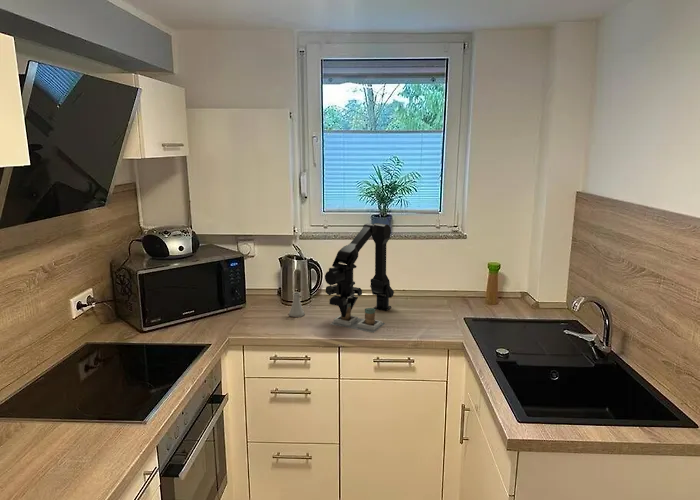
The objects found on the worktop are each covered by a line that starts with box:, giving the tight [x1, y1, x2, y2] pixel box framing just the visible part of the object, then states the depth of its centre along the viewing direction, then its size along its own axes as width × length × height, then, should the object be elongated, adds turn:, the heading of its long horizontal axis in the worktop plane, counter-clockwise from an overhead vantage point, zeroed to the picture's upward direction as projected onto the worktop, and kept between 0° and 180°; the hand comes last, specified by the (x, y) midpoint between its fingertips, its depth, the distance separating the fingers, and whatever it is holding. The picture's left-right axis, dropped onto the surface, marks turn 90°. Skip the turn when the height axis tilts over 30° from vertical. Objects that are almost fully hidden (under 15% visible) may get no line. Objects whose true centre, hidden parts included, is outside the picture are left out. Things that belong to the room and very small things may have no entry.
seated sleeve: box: [364, 307, 376, 326], centre depth 208 cm, size 4×4×7 cm
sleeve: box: [340, 302, 352, 321], centre depth 213 cm, size 4×4×7 cm
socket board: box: [330, 314, 386, 333], centre depth 211 cm, size 12×20×3 cm, turn 63°
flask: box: [288, 291, 306, 318], centre depth 223 cm, size 7×7×10 cm
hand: (346, 315), depth 213 cm, fingers closed on sleeve, 4 cm apart
